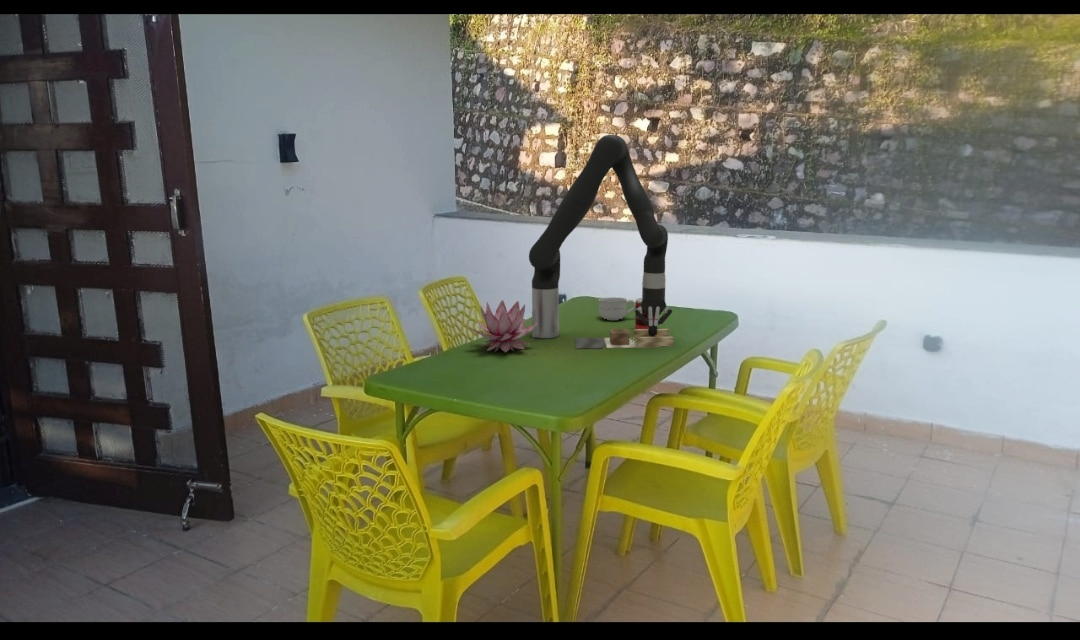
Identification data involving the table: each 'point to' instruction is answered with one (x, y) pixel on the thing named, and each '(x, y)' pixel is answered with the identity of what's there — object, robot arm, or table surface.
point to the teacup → (614, 307)
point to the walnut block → (619, 336)
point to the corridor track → (639, 334)
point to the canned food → (638, 321)
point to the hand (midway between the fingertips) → (652, 336)
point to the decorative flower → (504, 327)
